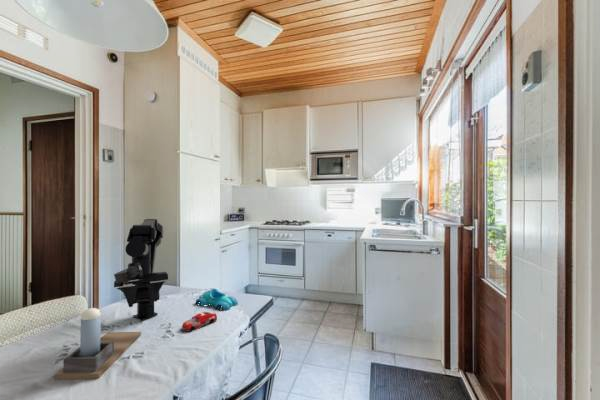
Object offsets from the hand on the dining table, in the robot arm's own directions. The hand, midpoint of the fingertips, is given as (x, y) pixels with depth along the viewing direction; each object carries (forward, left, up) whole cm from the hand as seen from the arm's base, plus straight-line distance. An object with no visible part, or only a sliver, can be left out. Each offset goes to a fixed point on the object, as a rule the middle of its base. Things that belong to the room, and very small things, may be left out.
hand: (141, 305), depth 90 cm
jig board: (+1, -11, -11) cm, 16 cm away
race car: (+9, +17, -11) cm, 22 cm away
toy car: (0, +35, -11) cm, 36 cm away
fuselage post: (+4, -16, -10) cm, 19 cm away
